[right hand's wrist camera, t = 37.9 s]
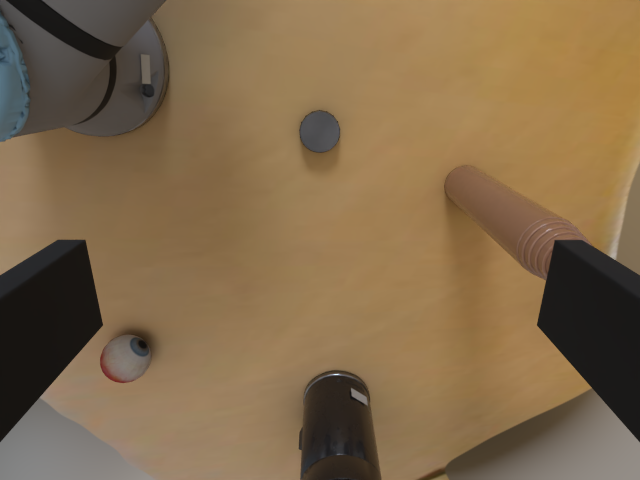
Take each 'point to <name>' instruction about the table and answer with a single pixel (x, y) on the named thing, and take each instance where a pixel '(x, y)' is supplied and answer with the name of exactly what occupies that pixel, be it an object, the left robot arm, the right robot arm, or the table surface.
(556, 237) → the bottle
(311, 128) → the cap
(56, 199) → the table surface
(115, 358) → the eyeball
